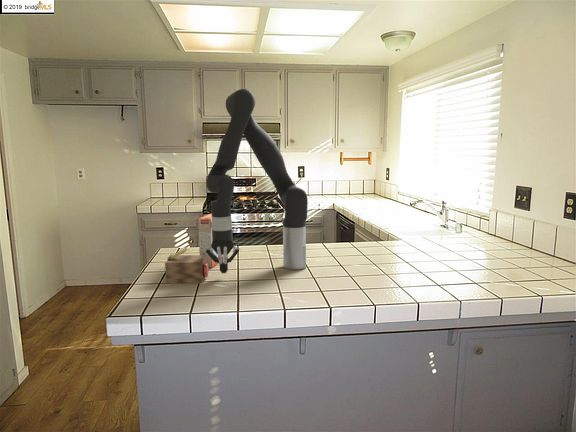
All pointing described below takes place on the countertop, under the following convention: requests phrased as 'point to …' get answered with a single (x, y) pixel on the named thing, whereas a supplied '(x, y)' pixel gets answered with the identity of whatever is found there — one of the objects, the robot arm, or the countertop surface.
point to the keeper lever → (177, 254)
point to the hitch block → (185, 269)
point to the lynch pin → (205, 270)
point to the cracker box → (206, 239)
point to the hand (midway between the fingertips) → (223, 272)
